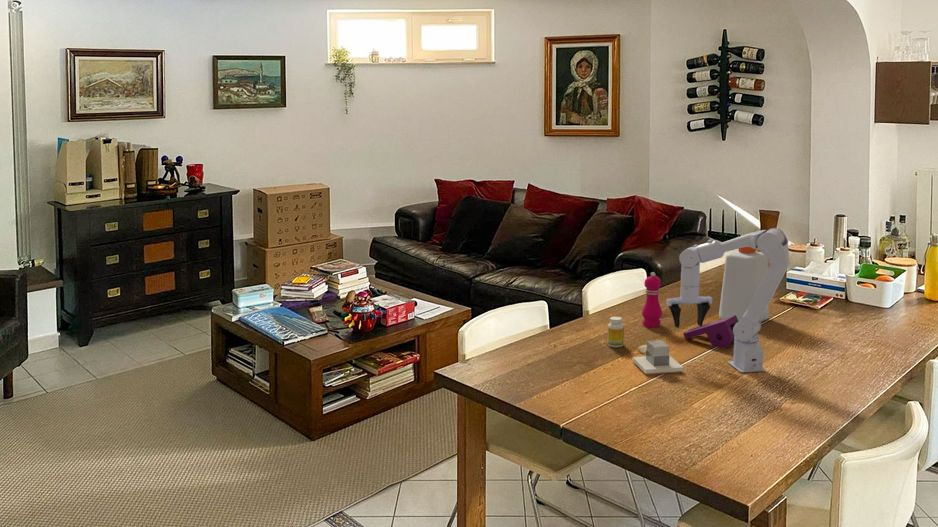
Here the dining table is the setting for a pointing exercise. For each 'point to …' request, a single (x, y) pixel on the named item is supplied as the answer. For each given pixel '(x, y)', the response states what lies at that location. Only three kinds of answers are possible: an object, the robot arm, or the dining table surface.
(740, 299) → the plastic bottle
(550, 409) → the dining table surface
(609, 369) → the dining table surface
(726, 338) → the mounting bracket
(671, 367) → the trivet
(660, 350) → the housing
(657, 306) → the pepper mill
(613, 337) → the supplement bottle
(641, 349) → the metal coaster
